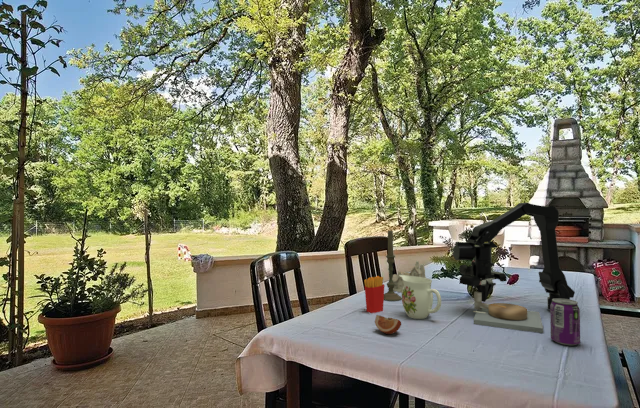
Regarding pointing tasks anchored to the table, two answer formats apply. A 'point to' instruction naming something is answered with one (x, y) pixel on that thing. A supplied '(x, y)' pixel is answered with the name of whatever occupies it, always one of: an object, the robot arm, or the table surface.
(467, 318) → the table surface
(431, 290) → the pitcher
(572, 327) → the beverage can
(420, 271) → the ceramic cottage
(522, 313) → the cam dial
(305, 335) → the table surface
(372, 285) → the french fries
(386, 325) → the fruit slice
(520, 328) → the slate base
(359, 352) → the table surface
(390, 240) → the candlestick holder
